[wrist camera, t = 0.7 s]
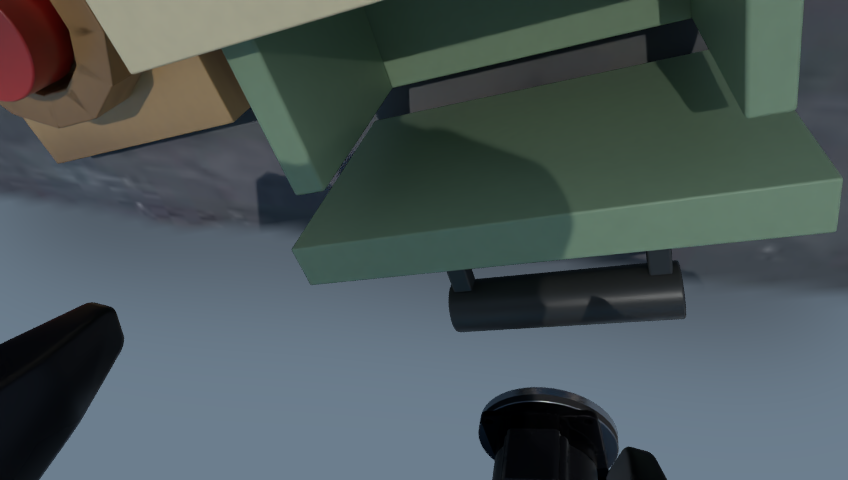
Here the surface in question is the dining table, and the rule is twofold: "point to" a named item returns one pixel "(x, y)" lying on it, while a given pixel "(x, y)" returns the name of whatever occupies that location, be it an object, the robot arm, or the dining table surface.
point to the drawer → (540, 150)
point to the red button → (31, 48)
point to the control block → (125, 95)
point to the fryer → (200, 25)
